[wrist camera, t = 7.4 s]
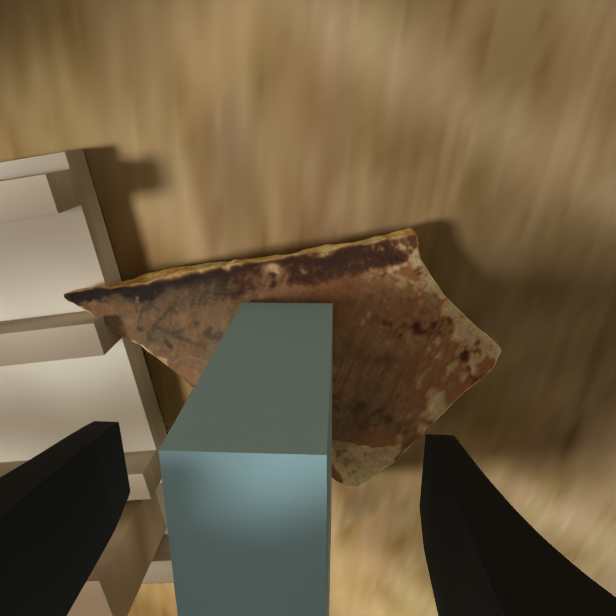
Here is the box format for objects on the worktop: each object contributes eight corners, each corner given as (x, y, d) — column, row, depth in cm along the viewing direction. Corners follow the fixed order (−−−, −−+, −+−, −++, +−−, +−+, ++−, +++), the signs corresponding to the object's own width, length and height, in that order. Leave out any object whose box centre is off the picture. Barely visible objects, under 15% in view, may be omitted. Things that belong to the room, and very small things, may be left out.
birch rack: (-185, 193, 16) (-263, 206, 14) (82, 148, 15) (39, 155, 13) (-9, 558, 21) (-47, 606, 19) (200, 547, 20) (182, 597, 18)
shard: (84, 282, 16) (55, 300, 15) (224, 71, 14) (209, 62, 12) (352, 473, 18) (353, 508, 16) (513, 310, 16) (535, 332, 14)
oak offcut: (51, 489, 18) (-26, 586, 15) (152, 482, 18) (99, 580, 14) (69, 533, 19) (0, 636, 15) (166, 527, 19) (119, 632, 15)
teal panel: (252, 510, 17) (195, 762, 10) (241, 302, 14) (158, 450, 8) (331, 513, 16) (325, 770, 10) (332, 303, 14) (326, 455, 8)
